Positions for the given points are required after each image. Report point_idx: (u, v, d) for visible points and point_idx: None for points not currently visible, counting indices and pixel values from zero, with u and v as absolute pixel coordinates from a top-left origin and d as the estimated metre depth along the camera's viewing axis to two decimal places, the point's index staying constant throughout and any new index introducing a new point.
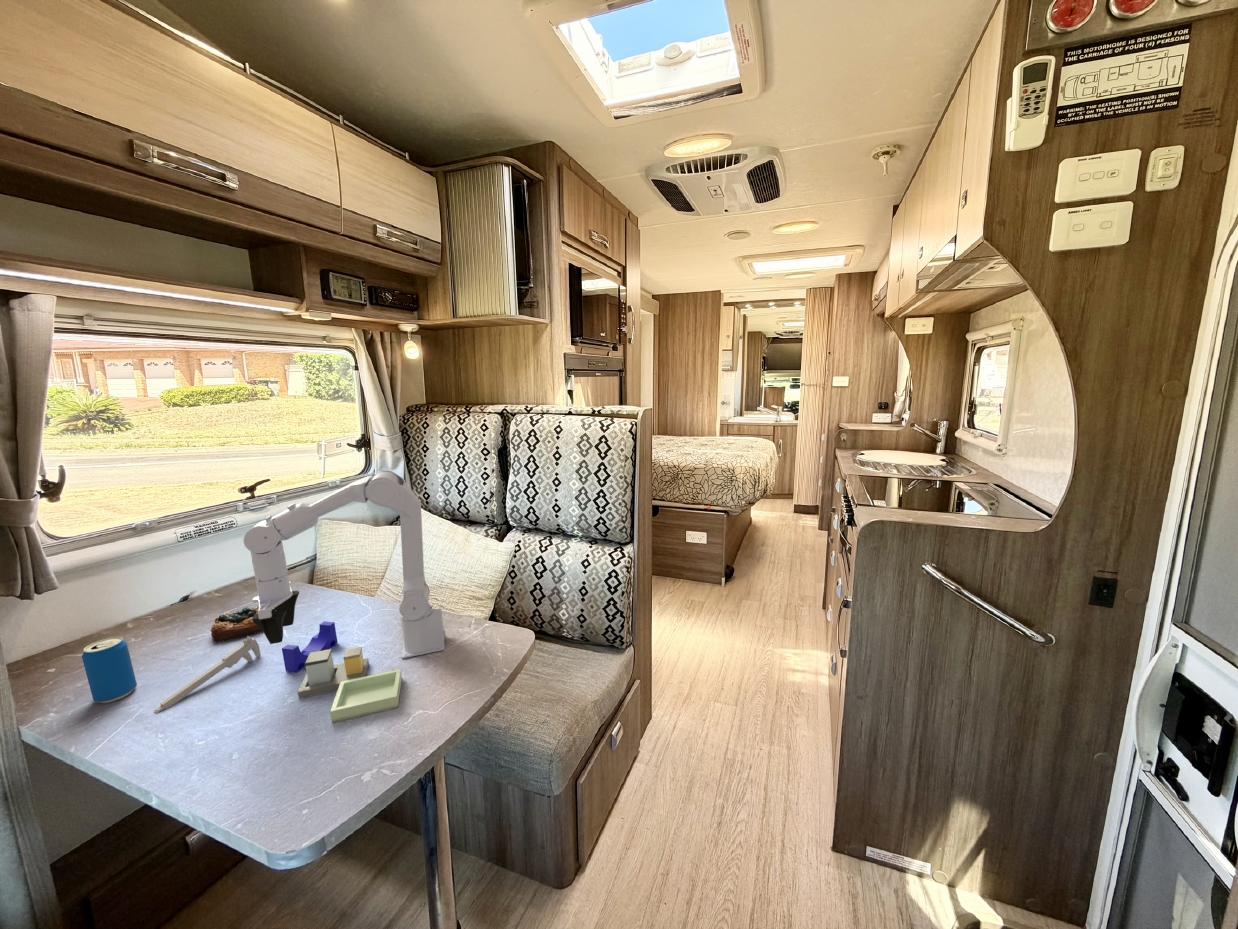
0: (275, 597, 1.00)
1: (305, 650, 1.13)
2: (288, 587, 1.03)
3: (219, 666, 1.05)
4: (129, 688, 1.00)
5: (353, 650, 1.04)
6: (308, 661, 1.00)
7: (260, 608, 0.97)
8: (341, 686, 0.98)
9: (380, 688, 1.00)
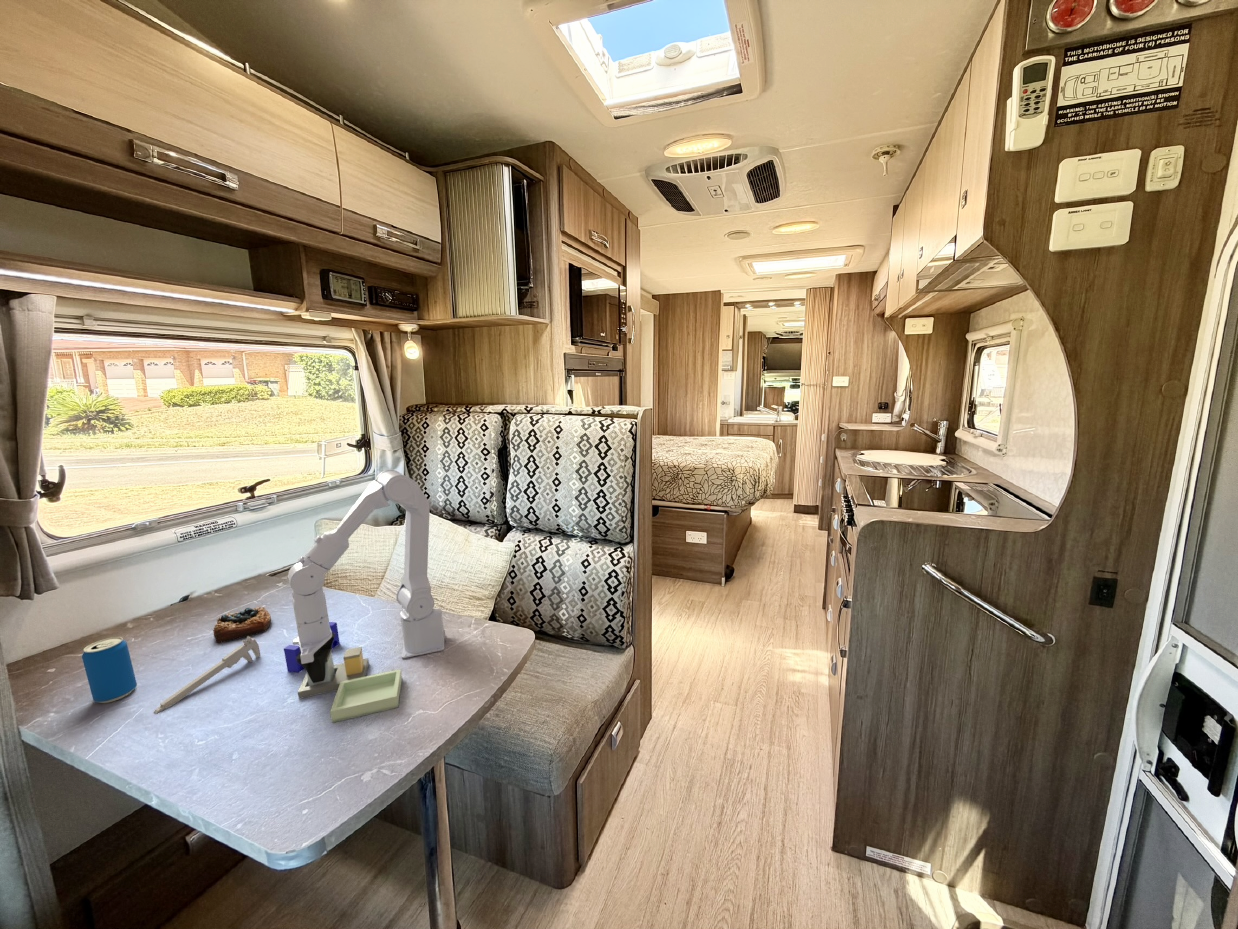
0: (316, 639, 0.98)
1: None
2: (328, 628, 1.01)
3: (219, 666, 1.05)
4: (129, 688, 1.00)
5: (353, 650, 1.04)
6: None
7: (302, 652, 0.95)
8: (341, 686, 0.98)
9: (380, 688, 1.00)
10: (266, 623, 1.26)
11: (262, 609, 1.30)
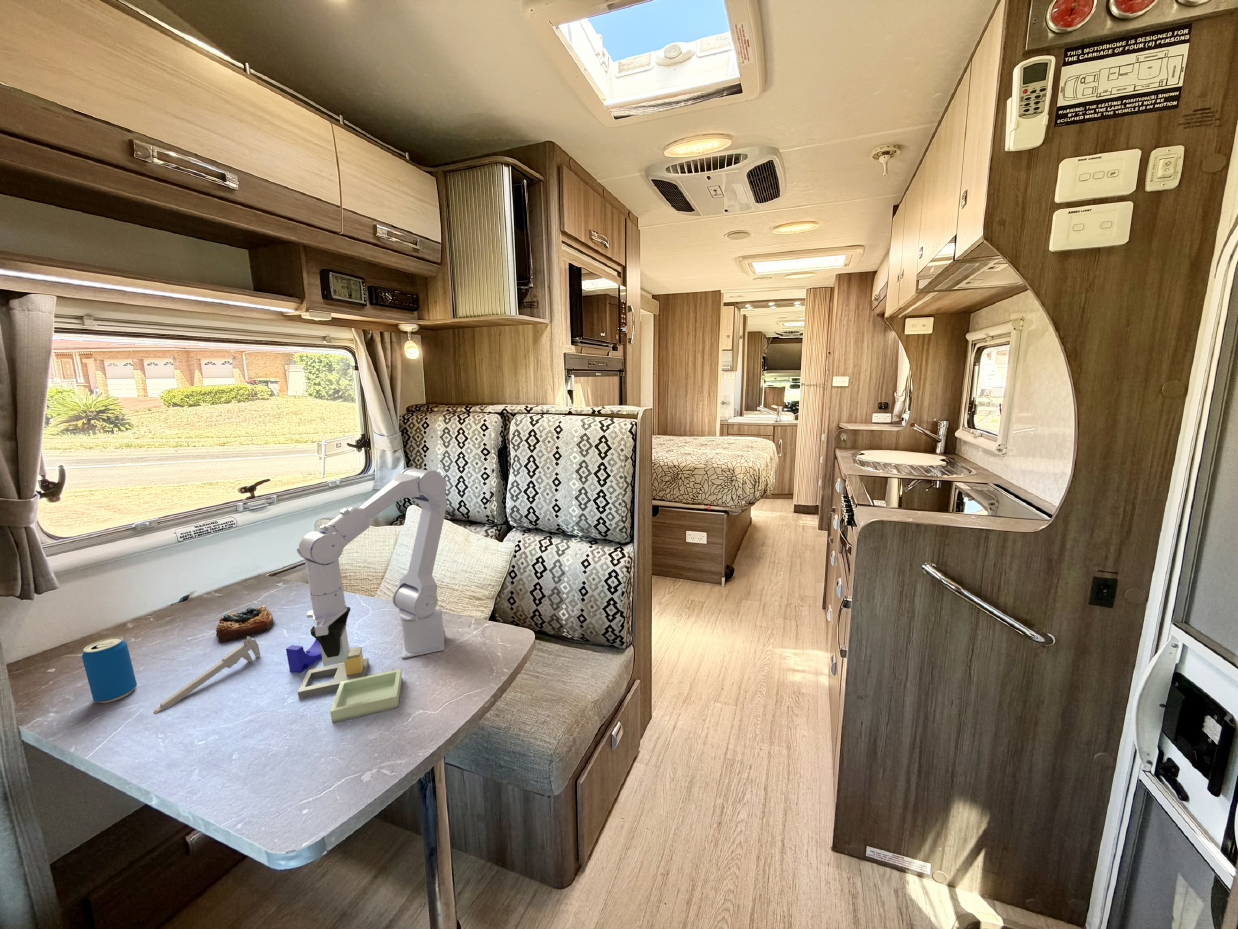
0: (331, 612, 0.95)
1: (309, 650, 1.13)
2: (343, 601, 0.97)
3: (219, 666, 1.05)
4: (129, 688, 1.00)
5: (353, 650, 1.04)
6: None
7: (316, 624, 0.91)
8: (341, 686, 0.98)
9: (380, 688, 1.00)
10: (269, 622, 1.26)
11: (264, 609, 1.30)
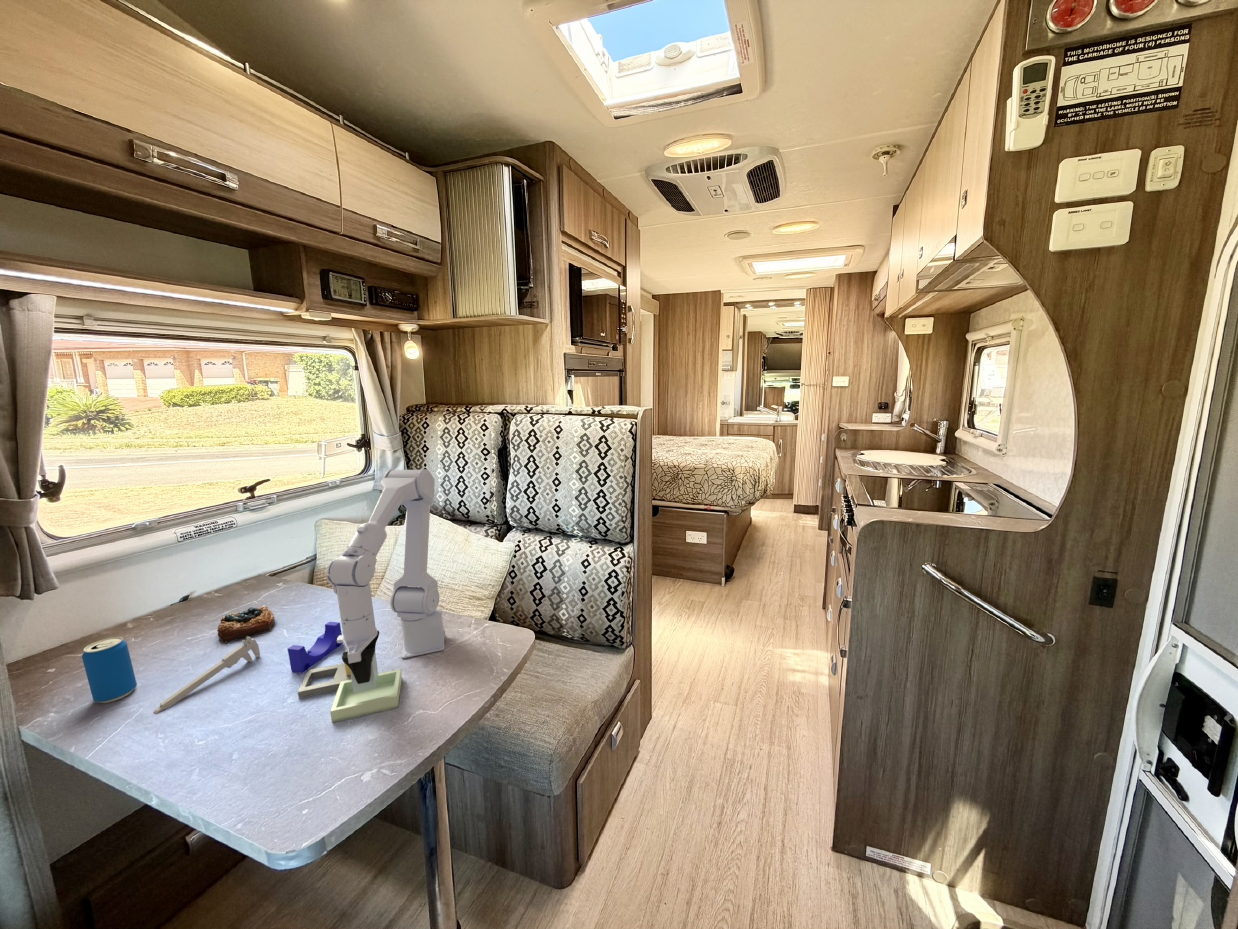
0: (362, 637, 0.92)
1: (311, 650, 1.13)
2: (374, 625, 0.94)
3: (219, 666, 1.05)
4: (129, 688, 1.00)
5: None
6: None
7: (349, 651, 0.89)
8: (341, 686, 0.98)
9: (380, 688, 1.00)
10: (270, 622, 1.26)
11: (265, 608, 1.30)
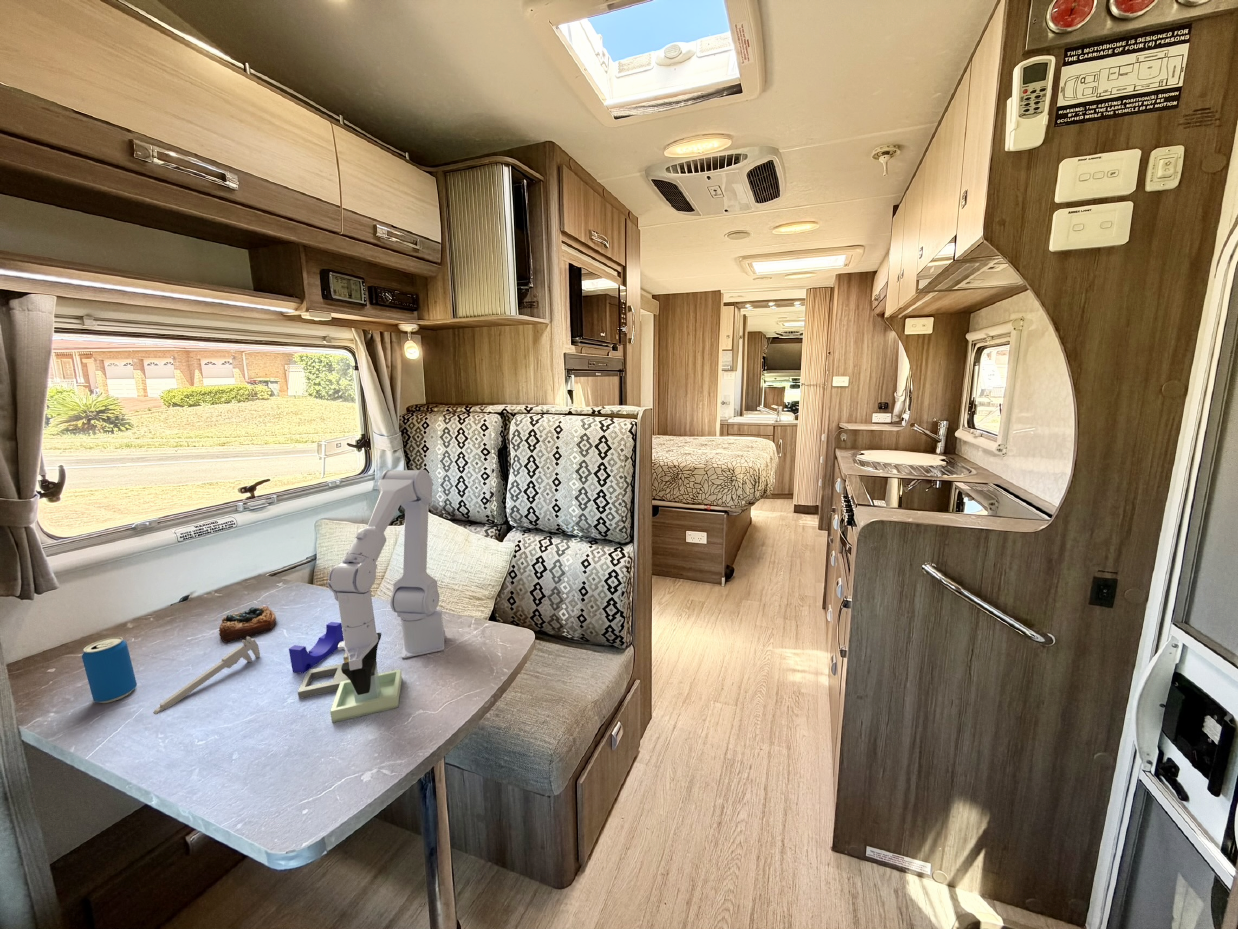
0: (363, 644, 0.92)
1: (312, 650, 1.13)
2: (375, 632, 0.95)
3: (218, 666, 1.05)
4: (129, 688, 1.00)
5: None
6: None
7: (350, 658, 0.89)
8: (341, 686, 0.98)
9: (380, 688, 1.00)
10: (272, 622, 1.26)
11: (266, 608, 1.30)
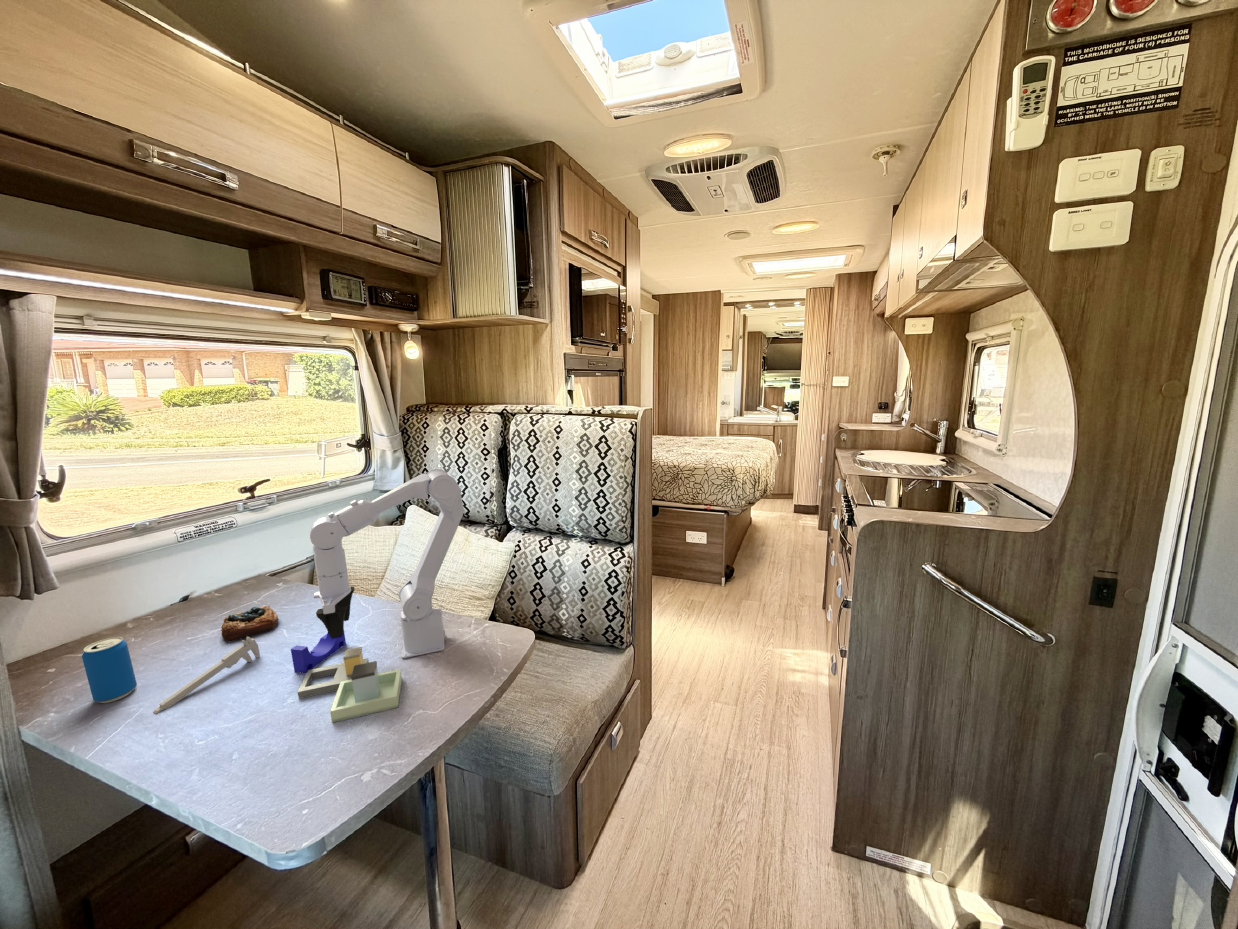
0: (336, 592, 1.02)
1: (314, 651, 1.13)
2: (347, 583, 1.05)
3: (218, 666, 1.05)
4: (129, 688, 1.00)
5: (353, 650, 1.04)
6: (354, 675, 0.94)
7: (324, 603, 0.99)
8: (341, 686, 0.98)
9: (380, 688, 1.00)
10: (275, 621, 1.27)
11: (268, 608, 1.30)
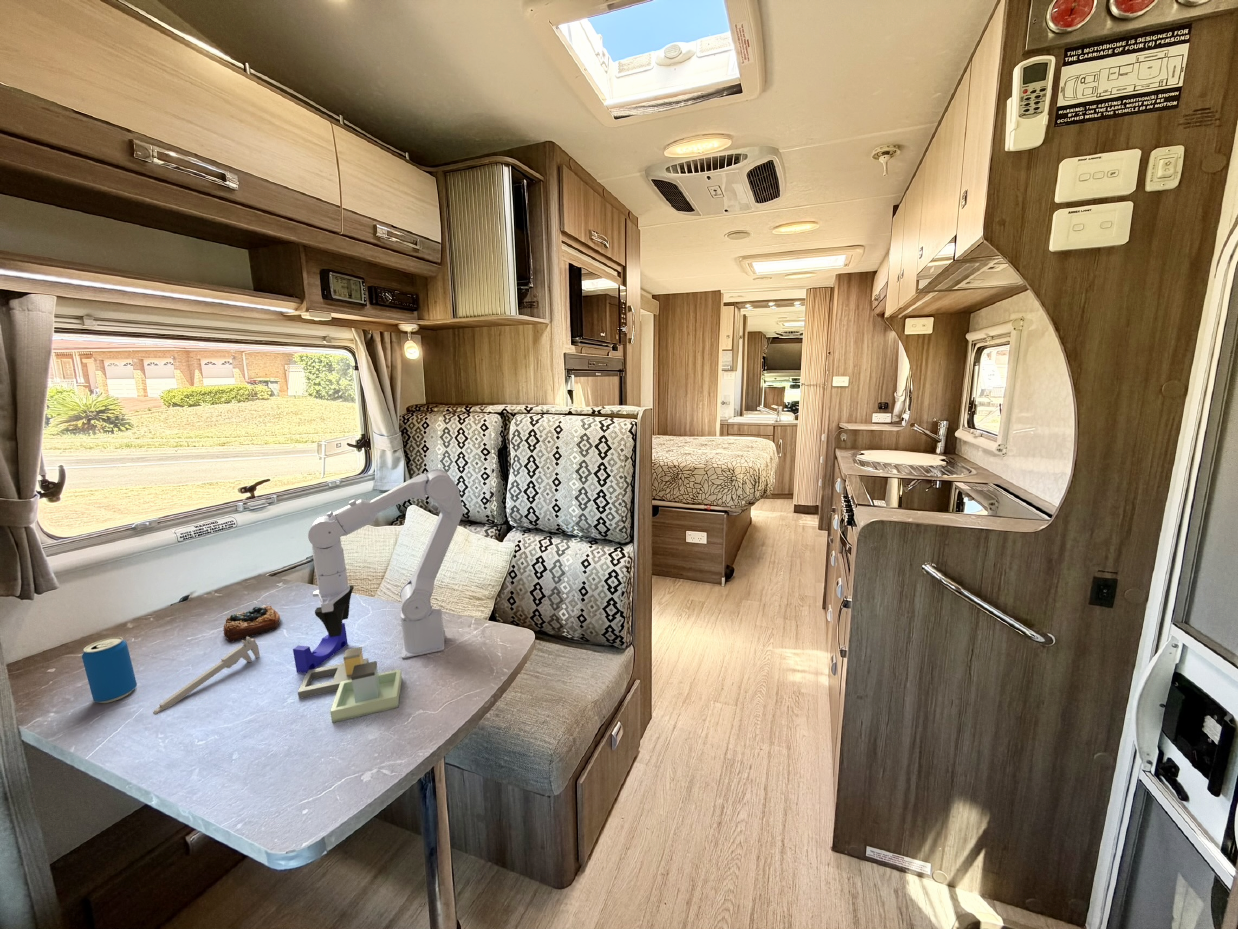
0: (335, 591, 1.03)
1: (315, 651, 1.13)
2: (346, 582, 1.05)
3: (218, 667, 1.05)
4: (129, 688, 1.00)
5: (353, 650, 1.04)
6: (354, 675, 0.94)
7: (322, 602, 0.99)
8: (341, 686, 0.98)
9: (380, 688, 1.00)
10: (277, 621, 1.27)
11: (270, 608, 1.30)
